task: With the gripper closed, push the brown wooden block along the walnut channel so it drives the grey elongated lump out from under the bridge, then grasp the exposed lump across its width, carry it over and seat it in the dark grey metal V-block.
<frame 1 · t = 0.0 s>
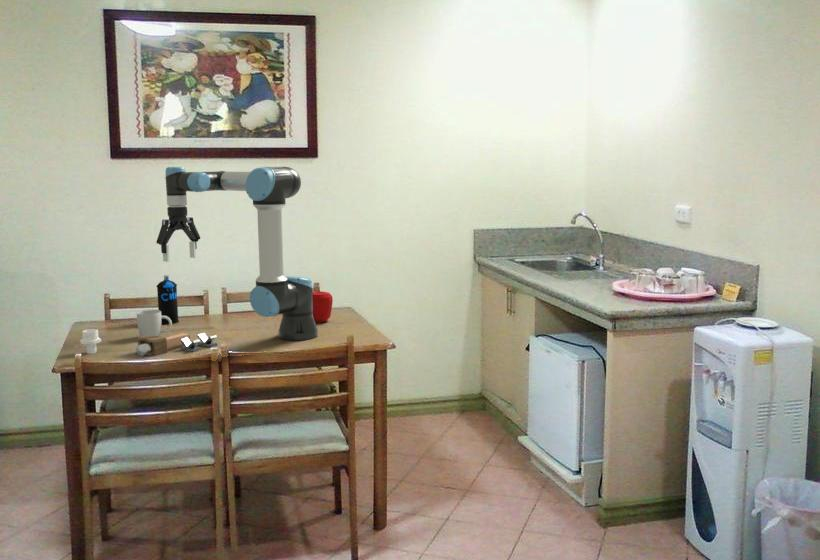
hand: (179, 259, 311), 28 cm above the table, fingers open, 13 cm apart
red bell pepper: (320, 321, 328), on the table
v block: (199, 347, 283), on the table
mug: (155, 337, 300), on the table
pipe fitting: (91, 353, 277), on the table
brown wooden block: (175, 347, 285), on the table
beam: (167, 348, 282), on the table
aerosol can: (168, 323, 327), on the table
grey elongated lump: (151, 353, 276), on the table
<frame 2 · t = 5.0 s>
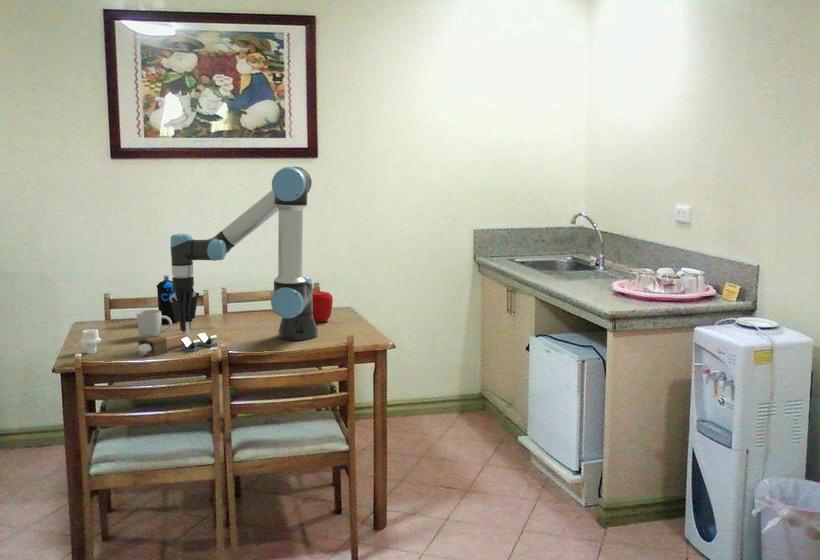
hand: (186, 338, 289), 2 cm above the table, fingers closed
brown wooden block: (173, 346, 285), on the table, touching grey elongated lump, gripper
grey elongated lump: (151, 353, 276), on the table, tilted 13°, touching brown wooden block
everything else where it was.
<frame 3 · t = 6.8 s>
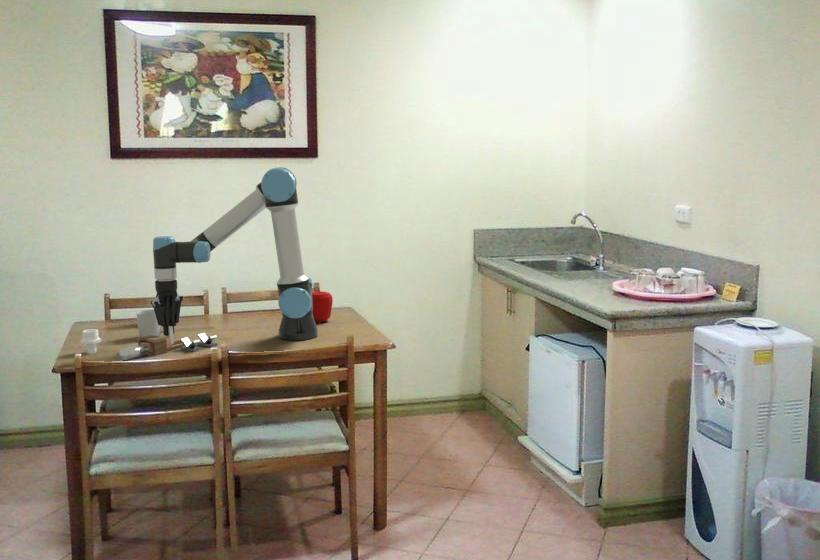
hand: (169, 343, 283), 2 cm above the table, fingers closed
brown wooden block: (156, 351, 278), on the table, touching grey elongated lump, gripper
grey elongated lump: (132, 357, 270), on the table, tilted 13°, touching brown wooden block
everything else where it was.
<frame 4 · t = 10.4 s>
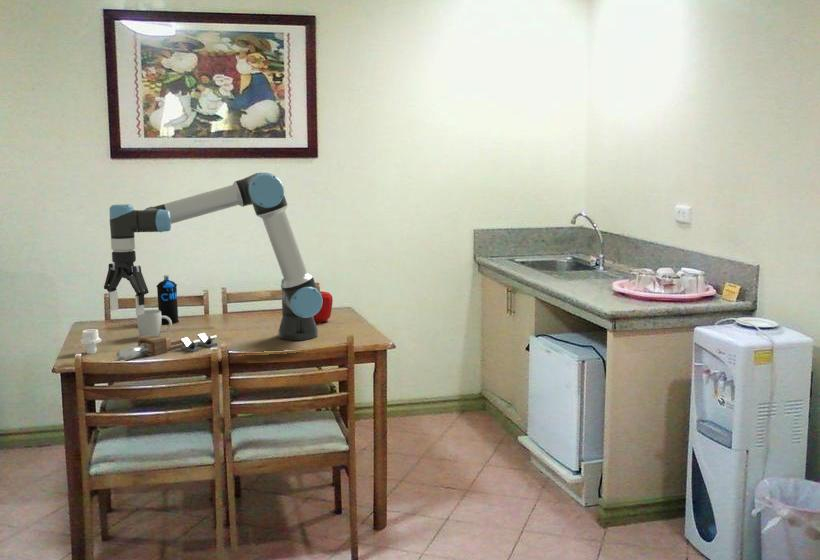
hand: (127, 312, 266), 16 cm above the table, fingers open, 13 cm apart
brown wooden block: (156, 352, 278), on the table
grey elongated lump: (132, 358, 269), on the table, tilted 16°
everything else where it was.
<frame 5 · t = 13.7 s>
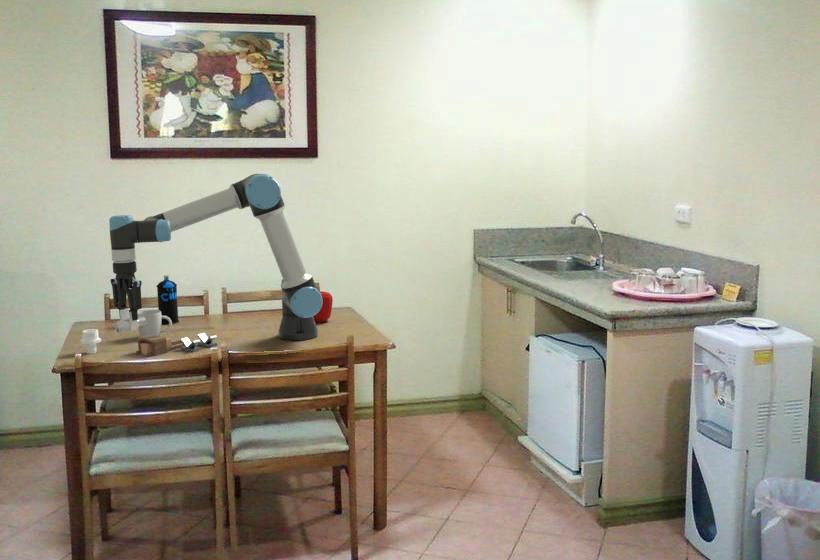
hand: (129, 328, 267), 10 cm above the table, fingers closed on grey elongated lump, 4 cm apart
grey elongated lump: (130, 329, 268), point 10 cm above the table, tilted 12°, touching gripper
everything else where it was.
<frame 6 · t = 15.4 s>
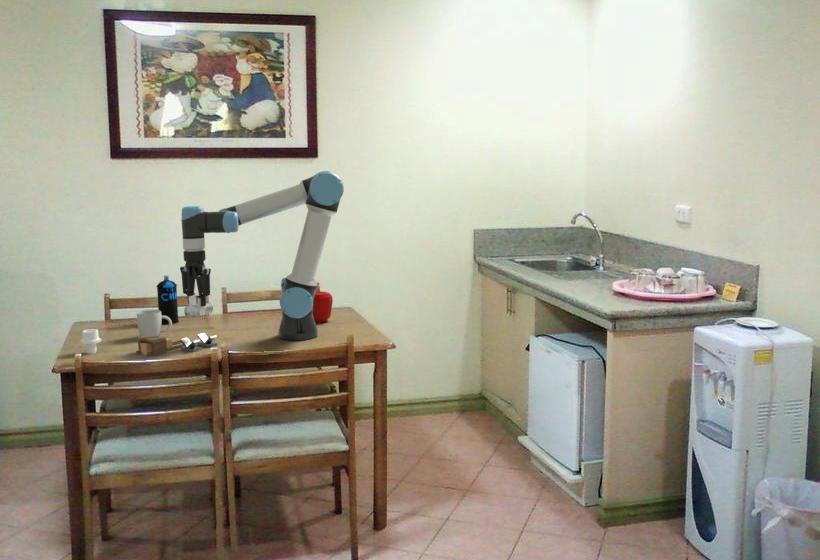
hand: (197, 314, 281), 12 cm above the table, fingers closed on grey elongated lump, 4 cm apart
grey elongated lump: (198, 315, 282), point 12 cm above the table, tilted 13°, touching gripper
everything else where it was.
when the fingers open (1 cm above the table, at t = 17.8 s): grey elongated lump stays where it is, resting on v block.
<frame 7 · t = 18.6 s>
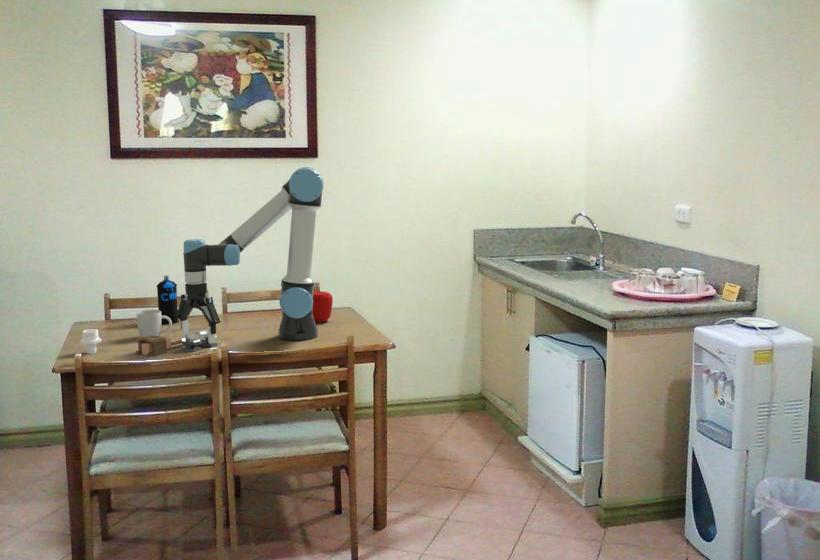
hand: (198, 340, 283), 3 cm above the table, fingers open, 13 cm apart
grey elongated lump: (198, 341, 284), point 2 cm above the table, tilted 20°, touching v block
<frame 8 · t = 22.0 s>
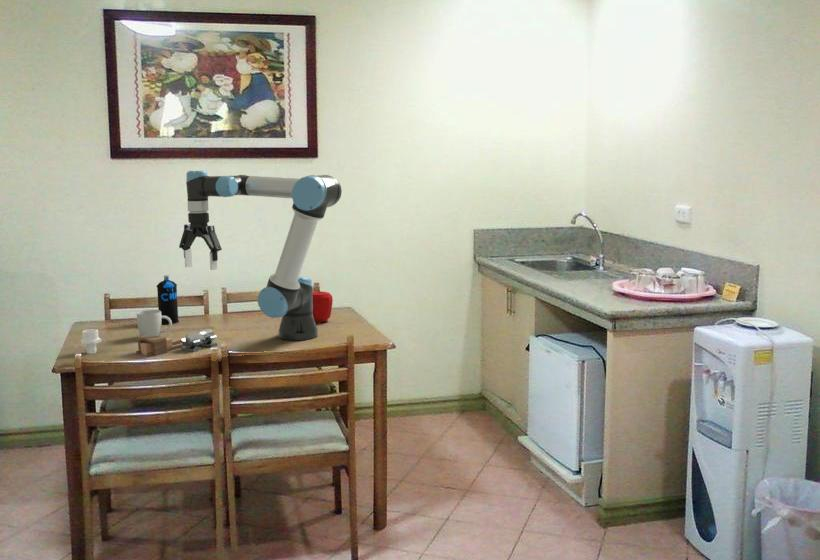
hand: (201, 268, 296), 27 cm above the table, fingers open, 13 cm apart
at the end: grey elongated lump 0.9 cm off-centre on the v block, point 2.1 cm above the v block's base; grey elongated lump touching v block; the gripper is holding nothing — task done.
